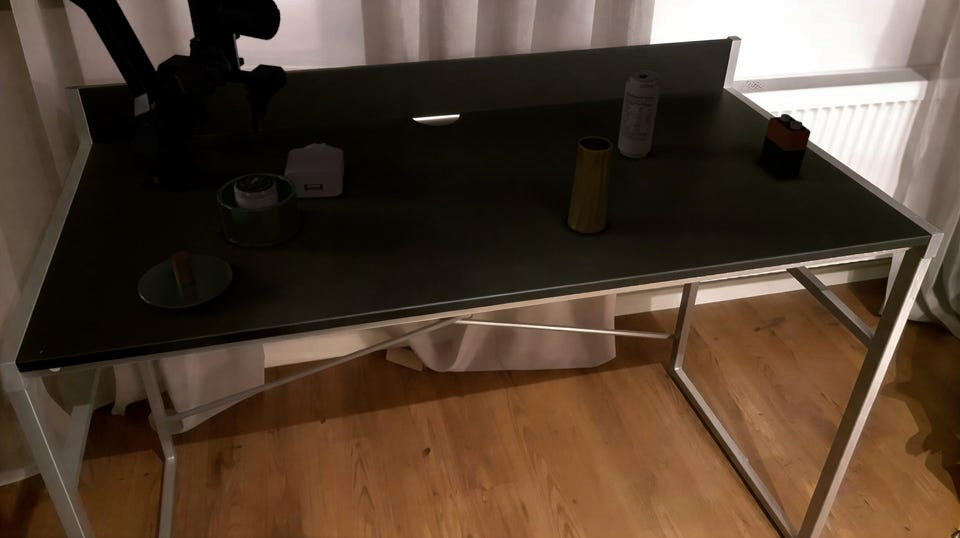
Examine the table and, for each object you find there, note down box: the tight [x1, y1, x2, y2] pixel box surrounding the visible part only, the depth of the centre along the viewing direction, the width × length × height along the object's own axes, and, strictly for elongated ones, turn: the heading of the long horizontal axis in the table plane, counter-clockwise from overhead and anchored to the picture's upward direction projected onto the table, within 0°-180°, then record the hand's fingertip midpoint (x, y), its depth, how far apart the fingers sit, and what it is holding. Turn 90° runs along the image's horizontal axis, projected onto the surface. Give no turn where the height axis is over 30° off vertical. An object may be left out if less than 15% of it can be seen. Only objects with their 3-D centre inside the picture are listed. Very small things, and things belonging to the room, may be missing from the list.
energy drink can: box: [617, 69, 661, 159], centre depth 145 cm, size 6×6×15 cm
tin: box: [216, 172, 301, 249], centre depth 123 cm, size 12×12×6 cm
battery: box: [759, 113, 812, 180], centre depth 141 cm, size 4×7×10 cm, turn 14°
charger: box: [283, 142, 345, 198], centre depth 138 cm, size 5×9×15 cm
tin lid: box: [137, 250, 234, 311], centre depth 111 cm, size 13×13×5 cm
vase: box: [566, 135, 614, 234], centre depth 123 cm, size 6×6×14 cm
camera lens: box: [234, 173, 279, 209], centre depth 122 cm, size 6×6×8 cm
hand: (230, 127), depth 124 cm, fingers open, 9 cm apart
